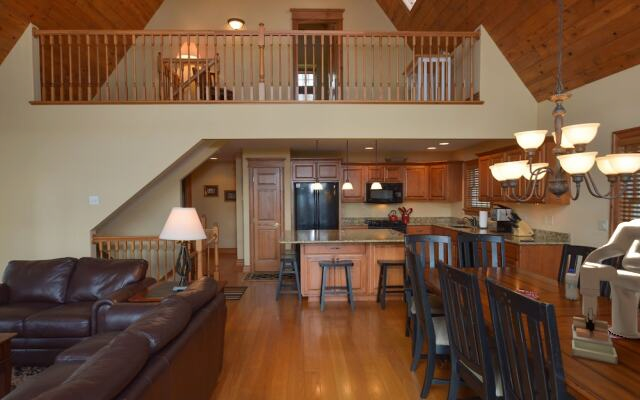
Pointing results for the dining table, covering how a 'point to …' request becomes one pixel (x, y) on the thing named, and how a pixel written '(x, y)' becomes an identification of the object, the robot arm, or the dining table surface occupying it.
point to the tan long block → (599, 325)
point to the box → (594, 351)
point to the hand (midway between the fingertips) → (590, 329)
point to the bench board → (591, 339)
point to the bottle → (571, 285)
